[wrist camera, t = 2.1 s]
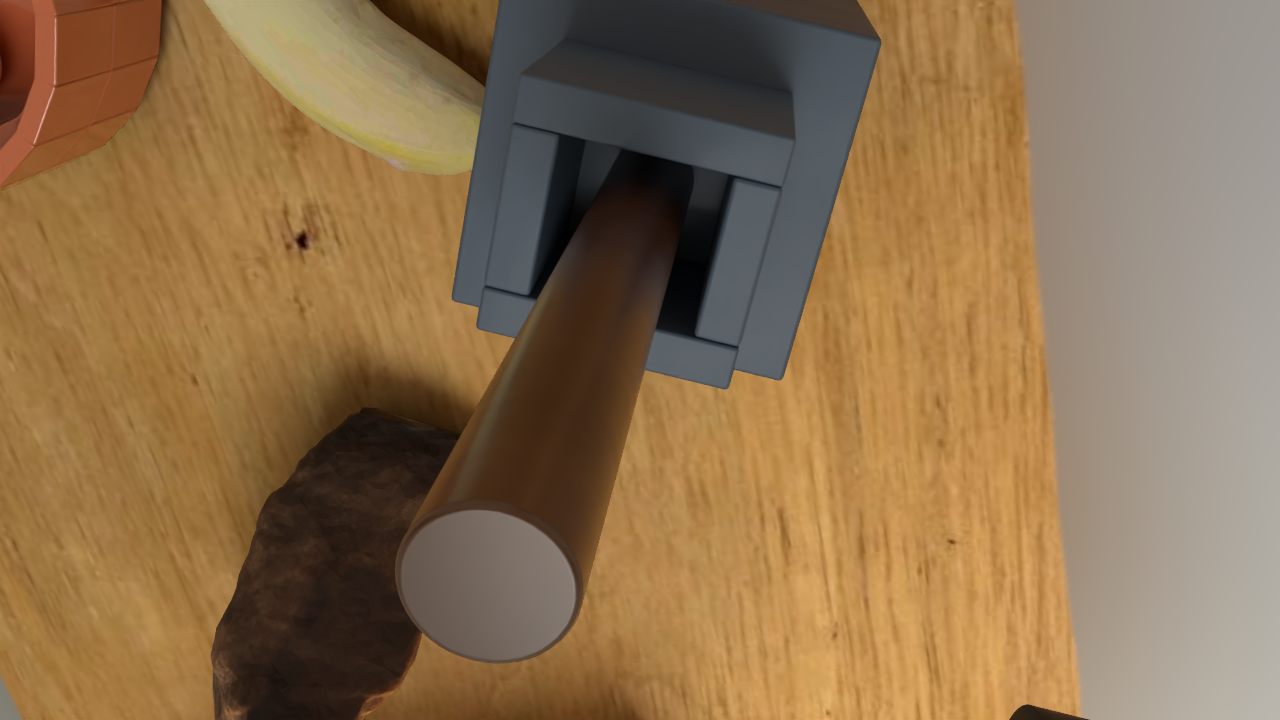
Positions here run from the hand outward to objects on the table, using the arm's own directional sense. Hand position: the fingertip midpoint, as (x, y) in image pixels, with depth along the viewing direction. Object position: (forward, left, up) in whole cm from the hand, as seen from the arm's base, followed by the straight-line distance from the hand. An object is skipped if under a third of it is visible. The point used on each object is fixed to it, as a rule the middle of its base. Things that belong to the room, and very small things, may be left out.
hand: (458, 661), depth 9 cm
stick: (0, 0, -15) cm, 15 cm away
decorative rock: (+18, -7, -27) cm, 33 cm away
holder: (0, 0, -27) cm, 27 cm away
